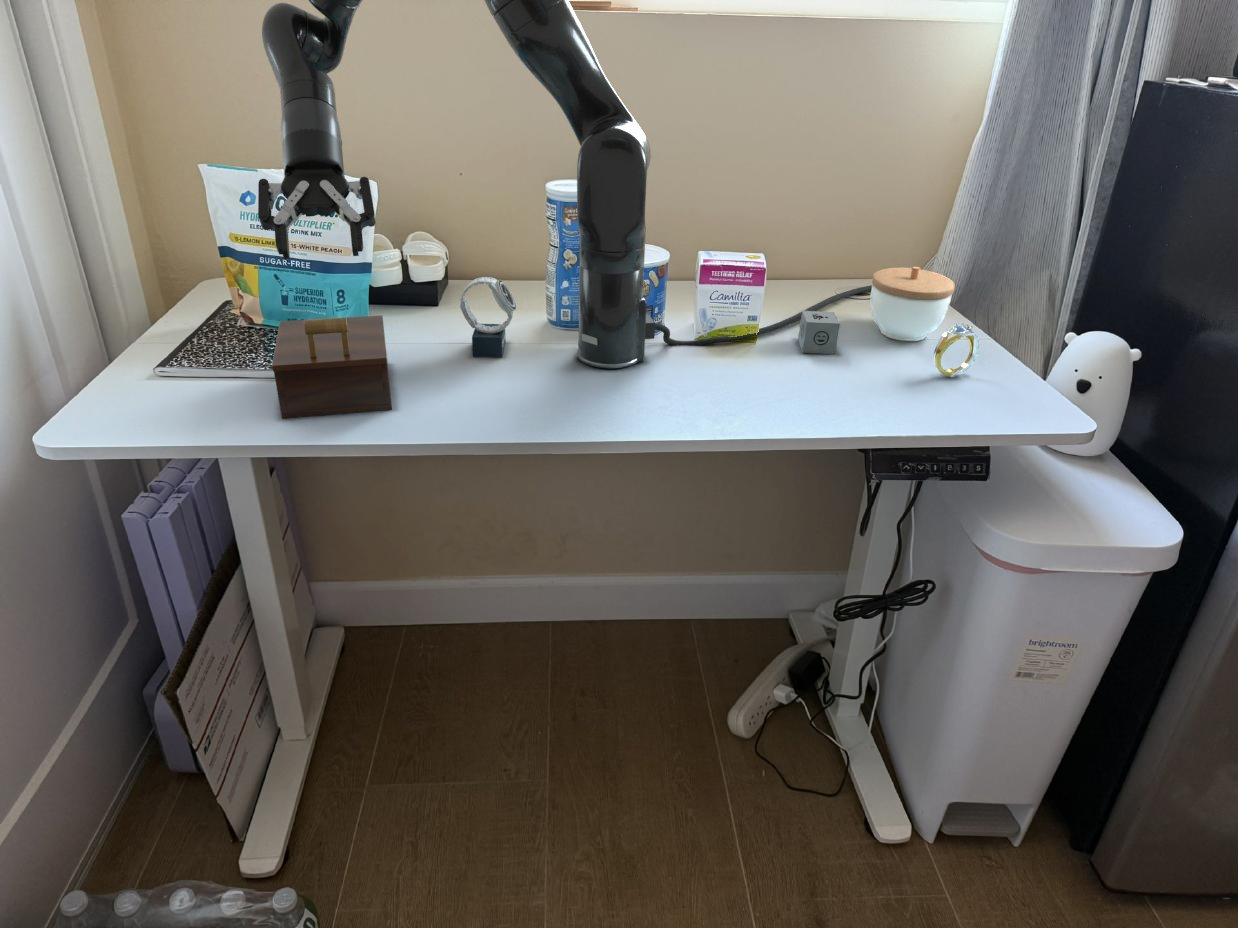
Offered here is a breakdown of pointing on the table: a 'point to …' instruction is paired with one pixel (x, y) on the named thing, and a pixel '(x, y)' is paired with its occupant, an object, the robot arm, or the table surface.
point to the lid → (329, 343)
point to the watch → (489, 336)
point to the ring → (944, 345)
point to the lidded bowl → (909, 302)
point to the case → (333, 390)
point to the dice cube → (818, 332)
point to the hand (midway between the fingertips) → (321, 254)
